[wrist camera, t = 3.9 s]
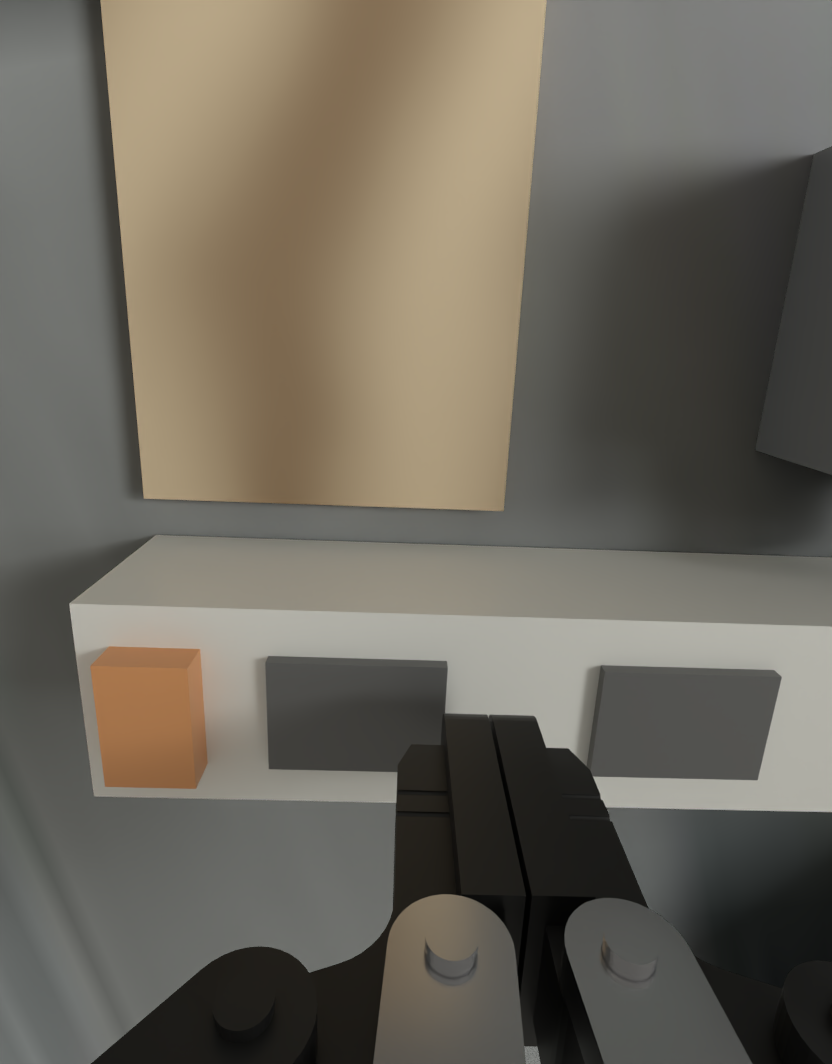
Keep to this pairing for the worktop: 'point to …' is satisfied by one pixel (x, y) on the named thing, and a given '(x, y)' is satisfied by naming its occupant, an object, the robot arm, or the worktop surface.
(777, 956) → the worktop surface
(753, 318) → the worktop surface
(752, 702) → the power strip
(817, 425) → the block
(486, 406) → the cork pad
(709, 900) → the worktop surface
